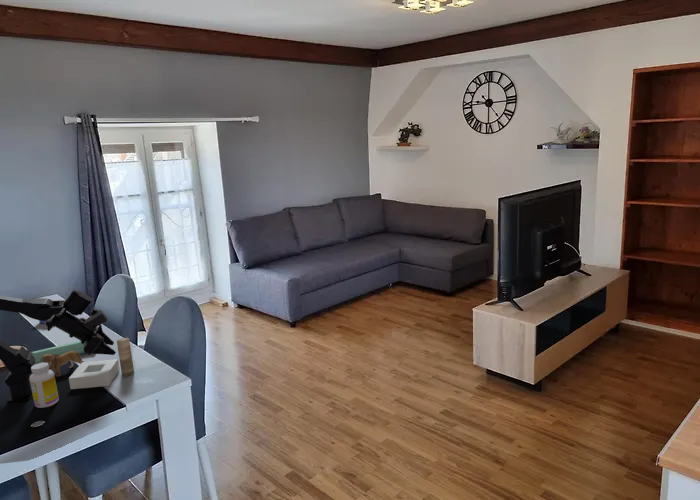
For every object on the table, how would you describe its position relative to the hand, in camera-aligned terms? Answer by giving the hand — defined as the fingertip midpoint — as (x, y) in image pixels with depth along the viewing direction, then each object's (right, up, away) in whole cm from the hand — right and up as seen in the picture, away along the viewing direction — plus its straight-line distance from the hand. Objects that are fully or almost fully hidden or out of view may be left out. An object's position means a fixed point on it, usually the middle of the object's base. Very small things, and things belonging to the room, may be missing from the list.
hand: (114, 348), depth 175 cm
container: (-29, -8, +19) cm, 35 cm away
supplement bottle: (-15, -15, -14) cm, 25 cm away
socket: (-7, -11, +1) cm, 12 cm away
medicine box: (-56, +1, +57) cm, 80 cm away
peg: (+3, -9, +4) cm, 11 cm away
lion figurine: (-21, -10, +7) cm, 24 cm away
